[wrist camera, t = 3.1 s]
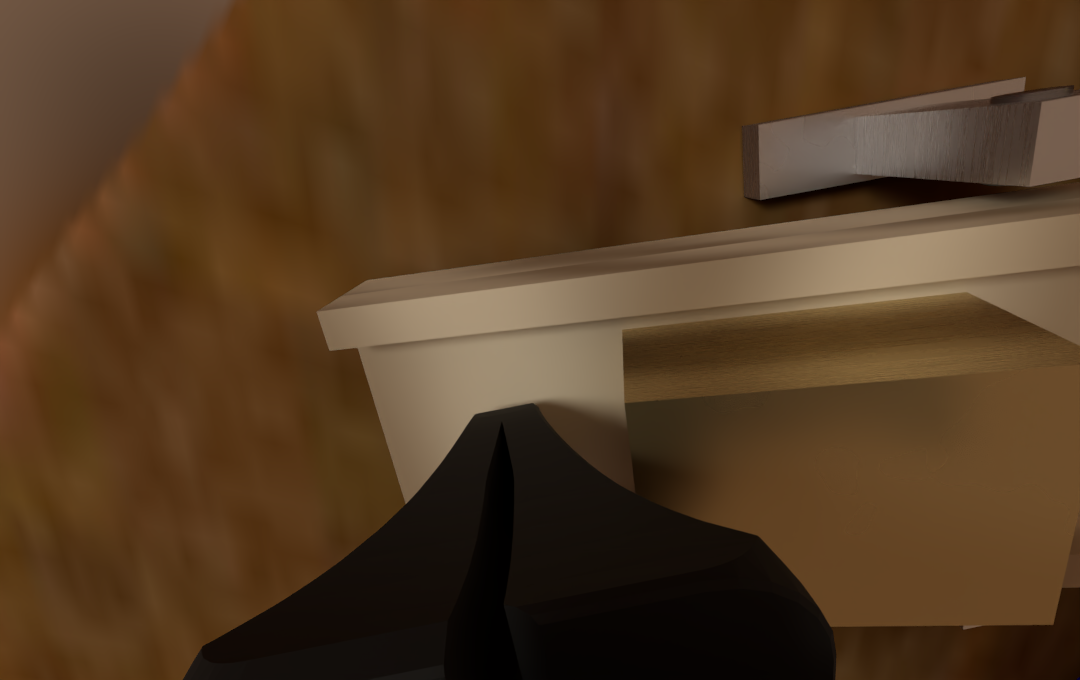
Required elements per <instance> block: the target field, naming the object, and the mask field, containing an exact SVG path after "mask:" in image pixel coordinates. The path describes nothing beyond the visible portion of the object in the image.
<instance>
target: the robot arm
mask: <svg viewBox="0 0 1080 680" xmlns="http://www.w3.org/2000/svg"><path fill="white" fill-rule="evenodd" d="M835 673H836V650H835V643H834V636H833V630H832V629H831V627H830V625H829V623H828V622H827V620H826V618H825V617H824V615H823V613H822V611H821V610H820V608H819V607H818V605H817V604H816V602H815V601H814V599H813V598H812V597H811V595H810V594H809V593H808V591H807V590H806V589H805V587H804V586H803V585H802V583H801V582H800V581H799V580H798V579H797V577H796V576H795V575H794V574H793V573H792V572H791V571H790V569H789V568H788V567H787V566H786V565H785V564H784V563H783V562H782V561H781V559H780V558H779V557H778V556H777V555H776V554H775V553H774V552H773V551H772V550H771V549H770V548H769V547H768V545H767V544H766V543H765V542H764V541H763V540H762V539H761V538H760V537H759V536H758V535H754V534H750V533H746V532H743V531H739V530H735V529H731V528H727V527H724V526H720V525H716V524H712V523H708V522H705V521H701V520H698V519H695V518H693V517H690V516H687V515H684V514H682V513H679V512H676V511H673V510H671V509H668V508H666V507H663V506H661V505H659V504H656V503H654V502H652V501H650V500H648V499H646V498H644V497H642V496H640V495H638V494H636V493H634V492H632V491H630V490H628V489H626V488H624V487H622V486H621V485H619V484H617V483H616V482H614V481H613V480H611V479H610V478H608V477H607V476H605V475H604V474H602V473H601V472H600V471H598V470H597V469H596V468H594V467H593V466H592V465H591V464H589V463H588V462H587V461H586V460H585V459H583V458H582V457H581V456H580V455H579V454H578V453H577V452H575V451H574V450H573V449H572V448H571V447H570V446H569V445H568V444H567V443H566V442H565V441H564V440H563V439H562V438H561V437H560V436H559V435H558V434H557V432H556V431H555V430H554V429H553V428H552V427H551V425H550V424H549V423H548V422H547V420H546V419H545V417H544V416H543V414H542V413H541V411H540V409H539V407H538V406H537V405H535V404H534V403H530V404H525V405H519V406H514V407H509V408H504V409H498V410H493V411H488V412H483V413H478V414H475V415H474V416H473V417H472V419H471V420H470V422H469V423H468V424H467V426H466V427H465V429H464V430H463V432H462V433H461V435H460V437H459V438H458V439H457V441H456V442H455V444H454V445H453V447H452V448H451V450H450V451H449V452H448V454H447V455H446V457H445V458H444V459H443V461H442V462H441V464H440V465H439V466H438V468H437V469H436V470H435V471H434V472H433V474H432V475H431V476H430V477H429V479H428V480H427V481H426V482H425V483H424V485H423V486H422V487H421V488H420V489H419V491H418V492H417V493H416V494H415V495H414V496H413V497H412V498H411V499H410V500H409V501H408V502H407V504H406V505H405V506H404V507H403V508H402V509H401V510H400V511H398V512H397V513H396V514H395V515H394V516H393V517H392V518H391V519H390V520H389V521H388V522H387V523H386V524H385V525H384V526H383V527H382V528H380V529H379V530H378V531H377V532H376V533H375V534H373V535H372V536H371V537H370V538H368V539H367V540H366V541H365V542H363V543H362V544H361V545H360V546H359V547H357V548H356V549H355V550H354V551H352V552H351V553H350V554H349V555H348V556H346V557H345V558H344V559H343V560H341V561H340V562H339V563H337V564H336V565H335V566H333V567H332V568H330V569H329V570H328V571H326V572H325V573H323V574H322V575H321V576H319V577H318V578H316V579H315V580H313V581H312V582H310V583H309V584H307V585H306V586H304V587H303V588H301V589H300V590H298V591H297V592H295V593H294V594H292V595H291V596H289V597H288V598H286V599H284V600H283V601H281V602H280V603H278V604H276V605H275V606H273V607H271V608H270V609H268V610H266V611H264V612H263V613H261V614H259V615H257V616H256V617H254V618H252V619H250V620H249V621H247V622H245V623H244V624H242V625H240V626H238V627H237V628H235V629H233V630H231V631H230V632H228V633H226V634H224V635H223V636H221V637H219V638H217V639H215V640H213V641H211V642H210V643H208V644H206V645H204V646H203V647H202V649H201V650H200V652H199V653H198V655H197V657H196V658H195V660H194V661H193V663H192V665H191V667H190V668H189V670H188V672H187V674H186V675H185V677H184V679H183V680H835Z"/></svg>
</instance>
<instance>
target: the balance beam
mask: <svg viewBox="0 0 1080 680" xmlns="http://www.w3.org/2000/svg"><path fill="white" fill-rule="evenodd" d="M962 292H968V293H970V294H972V295H974V296H976V297H978V298H980V299H982V300H985V301H987V302H989V303H991V304H993V305H995V306H997V307H999V308H1001V309H1003V310H1006V311H1008V312H1010V313H1012V314H1014V315H1016V316H1018V317H1020V318H1022V319H1024V320H1027V321H1029V322H1031V323H1033V324H1035V325H1037V326H1039V327H1041V328H1043V329H1045V330H1048V331H1050V332H1052V333H1054V334H1056V335H1058V336H1060V337H1062V338H1064V339H1066V340H1069V341H1071V342H1073V343H1075V344H1077V345H1079V346H1080V182H1077V183H1070V184H1063V185H1056V186H1048V187H1041V188H1034V189H1027V190H1019V191H1012V192H1005V193H997V194H990V195H983V196H976V197H968V198H961V199H954V200H947V201H939V202H932V203H925V204H918V205H910V206H903V207H896V208H889V209H881V210H874V211H867V212H860V213H852V214H845V215H838V216H830V217H823V218H816V219H809V220H801V221H794V222H787V223H780V224H772V225H765V226H758V227H751V228H743V229H736V230H729V231H722V232H714V233H707V234H700V235H692V236H685V237H678V238H671V239H663V240H656V241H649V242H642V243H634V244H627V245H620V246H613V247H605V248H598V249H591V250H584V251H576V252H569V253H562V254H555V255H547V256H540V257H533V258H525V259H518V260H511V261H504V262H496V263H489V264H482V265H475V266H467V267H460V268H453V269H446V270H438V271H431V272H424V273H417V274H409V275H402V276H395V277H388V278H380V279H373V280H367V281H365V282H363V283H362V284H360V285H359V286H357V287H355V288H354V289H352V290H351V291H349V292H347V293H346V294H344V295H343V296H341V297H339V298H338V299H336V300H335V301H333V302H331V303H330V304H328V305H327V306H325V307H323V308H322V309H320V310H319V311H317V314H318V317H319V320H320V323H321V326H322V329H323V333H324V336H325V339H326V342H327V345H328V348H329V351H331V350H340V349H349V348H358V350H359V354H360V357H361V360H362V363H363V367H364V370H365V373H366V376H367V380H368V383H369V386H370V389H371V393H372V396H373V399H374V402H375V406H376V409H377V412H378V415H379V419H380V422H381V425H382V428H383V431H384V435H385V438H386V441H387V444H388V448H389V451H390V454H391V457H392V461H393V464H394V467H395V470H396V474H397V477H398V480H399V483H400V487H401V490H402V493H403V496H404V500H405V503H406V504H407V502H408V501H409V500H410V499H411V498H412V497H413V496H414V495H415V494H416V493H417V492H418V491H419V489H420V488H421V487H422V486H423V485H424V483H425V482H426V481H427V480H428V479H429V477H430V476H431V475H432V474H433V472H434V471H435V470H436V469H437V468H438V466H439V465H440V464H441V462H442V461H443V459H444V458H445V457H446V455H447V454H448V452H449V451H450V450H451V448H452V447H453V445H454V444H455V442H456V441H457V439H458V438H459V437H460V435H461V433H462V432H463V430H464V429H465V427H466V426H467V424H468V423H469V422H470V420H471V419H472V417H473V416H474V415H475V414H478V413H483V412H488V411H493V410H498V409H504V408H509V407H514V406H519V405H525V404H530V403H534V404H535V405H537V406H538V407H539V409H540V411H541V413H542V414H543V416H544V417H545V419H546V420H547V422H548V423H549V424H550V425H551V427H552V428H553V429H554V430H555V431H556V432H557V434H558V435H559V436H560V437H561V438H562V439H563V440H564V441H565V442H566V443H567V444H568V445H569V446H570V447H571V448H572V449H573V450H574V451H575V452H577V453H578V454H579V455H580V456H581V457H582V458H583V459H585V460H586V461H587V462H588V463H589V464H591V465H592V466H593V467H594V468H596V469H597V470H598V471H600V472H601V473H602V474H604V475H605V476H607V477H608V478H610V479H611V480H613V481H614V482H616V483H617V484H619V485H621V486H622V487H624V488H626V489H628V490H630V491H632V492H634V493H636V492H635V484H634V476H633V468H632V460H631V452H630V444H629V436H628V428H627V420H626V412H625V404H624V375H623V343H622V330H624V329H633V328H642V327H651V326H660V325H670V324H679V323H688V322H697V321H706V320H715V319H724V318H734V317H743V316H752V315H761V314H770V313H779V312H788V311H798V310H807V309H816V308H825V307H834V306H843V305H852V304H862V303H871V302H880V301H889V300H898V299H907V298H916V297H926V296H935V295H944V294H953V293H962ZM1077 587H1080V510H1079V514H1078V519H1077V523H1076V527H1075V532H1074V536H1073V540H1072V545H1071V549H1070V554H1069V558H1068V562H1067V567H1066V571H1065V575H1064V580H1063V584H1062V588H1077Z"/></svg>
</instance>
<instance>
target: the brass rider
mask: <svg viewBox="0 0 1080 680" xmlns="http://www.w3.org/2000/svg"><path fill="white" fill-rule="evenodd" d="M622 343H623V375H624V404H625V412H626V420H627V428H628V436H629V444H630V452H631V460H632V468H633V476H634V484H635V492H636V494H638V495H640V496H642V497H644V498H646V499H648V500H650V501H652V502H654V503H656V504H659V505H661V506H663V507H666V508H668V509H671V510H673V511H676V512H679V513H682V514H684V515H687V516H690V517H693V518H695V519H698V520H701V521H705V522H708V523H712V524H716V525H720V526H724V527H727V528H731V529H735V530H739V531H743V532H746V533H750V534H754V535H758V536H759V537H760V538H761V539H762V540H763V541H764V542H765V543H766V544H767V545H768V547H769V548H770V549H771V550H772V551H773V552H774V553H775V554H776V555H777V556H778V557H779V558H780V559H781V561H782V562H783V563H784V564H785V565H786V566H787V567H788V568H789V569H790V571H791V572H792V573H793V574H794V575H795V576H796V577H797V579H798V580H799V581H800V582H801V583H802V585H803V586H804V587H805V589H806V590H807V591H808V593H809V594H810V595H811V597H812V598H813V599H814V601H815V602H816V604H817V605H818V607H819V608H820V610H821V611H822V613H823V615H824V617H825V618H826V620H827V622H828V623H829V625H830V627H861V626H972V625H1053V624H1054V619H1055V615H1056V610H1057V606H1058V602H1059V597H1060V593H1061V589H1062V584H1063V580H1064V575H1065V571H1066V567H1067V562H1068V558H1069V554H1070V549H1071V545H1072V540H1073V536H1074V532H1075V527H1076V523H1077V519H1078V514H1079V510H1080V346H1079V345H1077V344H1075V343H1073V342H1071V341H1069V340H1066V339H1064V338H1062V337H1060V336H1058V335H1056V334H1054V333H1052V332H1050V331H1048V330H1045V329H1043V328H1041V327H1039V326H1037V325H1035V324H1033V323H1031V322H1029V321H1027V320H1024V319H1022V318H1020V317H1018V316H1016V315H1014V314H1012V313H1010V312H1008V311H1006V310H1003V309H1001V308H999V307H997V306H995V305H993V304H991V303H989V302H987V301H985V300H982V299H980V298H978V297H976V296H974V295H972V294H970V293H968V292H962V293H953V294H944V295H935V296H926V297H916V298H907V299H898V300H889V301H880V302H871V303H862V304H852V305H843V306H834V307H825V308H816V309H807V310H798V311H788V312H779V313H770V314H761V315H752V316H743V317H734V318H724V319H715V320H706V321H697V322H688V323H679V324H670V325H660V326H651V327H642V328H633V329H624V330H622Z"/></svg>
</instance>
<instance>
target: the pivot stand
mask: <svg viewBox="0 0 1080 680" xmlns="http://www.w3.org/2000/svg"><path fill="white" fill-rule="evenodd" d="M1025 79H1026V77H1022V78H1015V79H1007V80H999V81H992V82H987V83H981V84H975V85H970V86H964V87H959V88H953V89H948V90H942V91H936V92H931V93H925V94H920V95H914V96H909V97H903V98H897V99H892V100H886V101H881V102H875V103H870V104H864V105H858V106H853V107H847V108H842V109H836V110H831V111H825V112H819V113H814V114H808V115H803V116H797V117H792V118H786V119H780V120H775V121H769V122H764V123H758V124H753V125H747V126H742V135H743V166H744V197H747V198H752V199H757V200H763V199H769V198H774V197H780V196H785V195H791V194H796V193H802V192H807V191H812V190H818V189H823V188H829V187H834V186H840V185H845V184H851V183H856V182H862V181H867V180H873V179H878V178H884V177H889V176H891V177H904V178H918V179H931V180H944V181H958V182H971V183H981V184H983V185H989V186H1025V187H1031V186H1036V185H1042V184H1047V183H1053V182H1058V181H1063V180H1069V179H1074V178H1080V90H1074V85H1070V86H1059V87H1051V88H1043V89H1035V90H1028V91H1024V86H1025ZM979 626H984V625H972V626H960V627H961V628H962V629H963V630H964V629H969V628H974V627H979Z"/></svg>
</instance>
